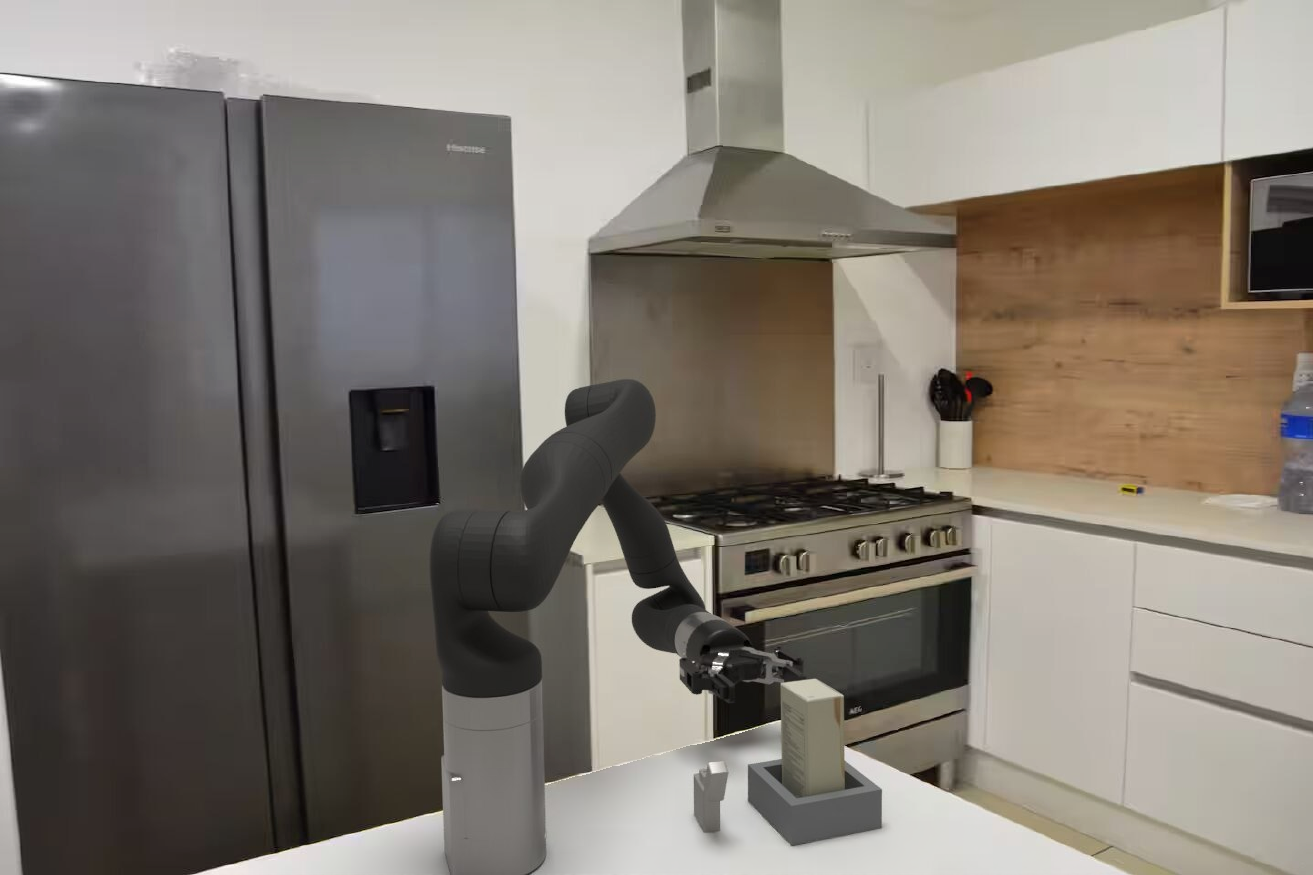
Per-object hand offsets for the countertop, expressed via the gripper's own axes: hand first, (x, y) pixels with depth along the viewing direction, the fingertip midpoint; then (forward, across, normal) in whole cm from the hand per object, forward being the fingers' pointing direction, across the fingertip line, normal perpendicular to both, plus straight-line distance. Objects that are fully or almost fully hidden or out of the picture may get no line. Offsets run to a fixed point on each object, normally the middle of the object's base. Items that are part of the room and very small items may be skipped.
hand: (767, 689), depth 110 cm
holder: (+11, 0, +10) cm, 14 cm away
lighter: (+10, -11, +10) cm, 18 cm away
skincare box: (+11, 0, +9) cm, 14 cm away
